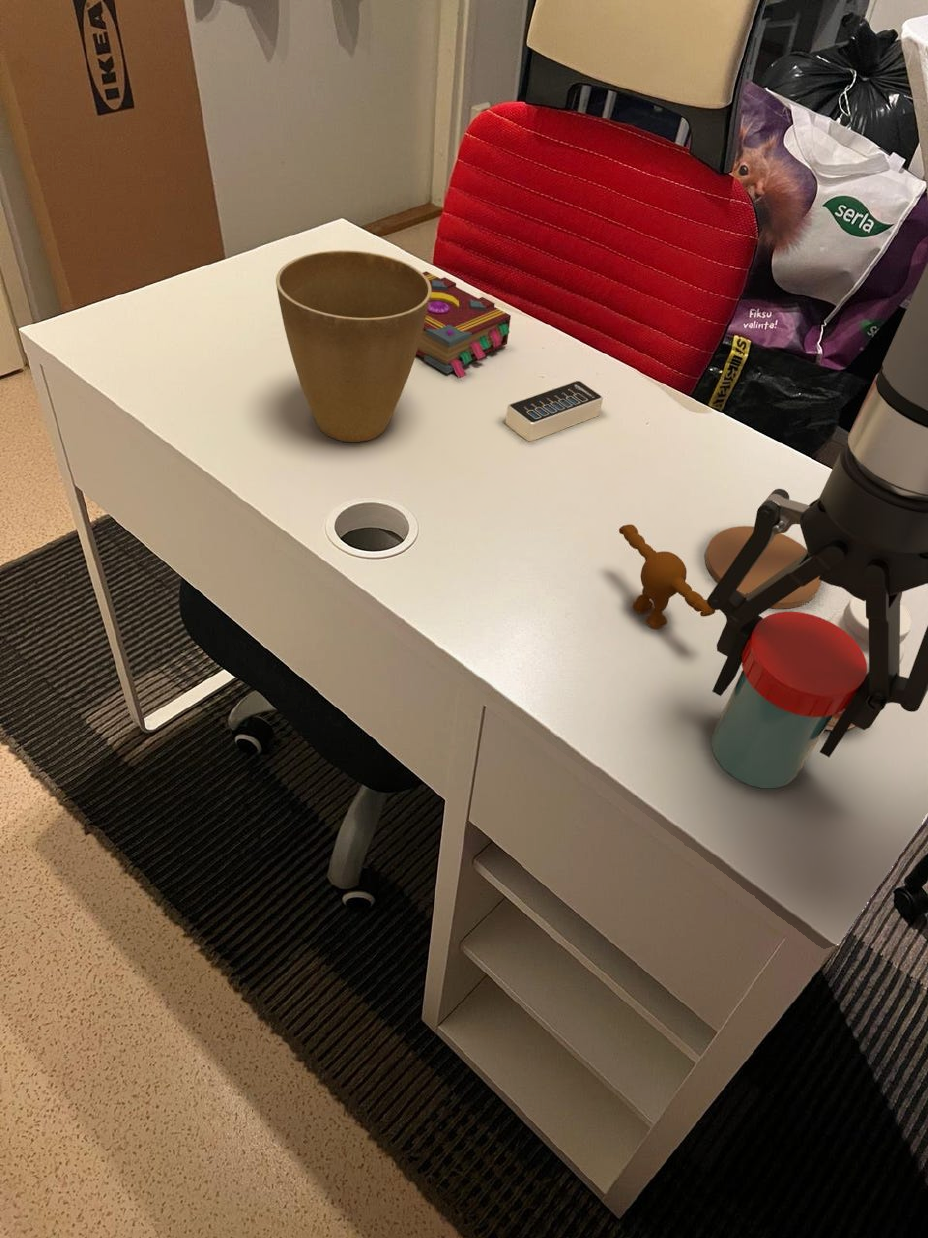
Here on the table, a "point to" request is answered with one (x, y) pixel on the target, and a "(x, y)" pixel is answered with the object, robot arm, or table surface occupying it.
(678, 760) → the table surface
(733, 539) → the coaster
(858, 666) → the cap
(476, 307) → the decorative book
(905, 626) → the pill bottle
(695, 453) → the table surface
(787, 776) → the jar
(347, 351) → the plant pot
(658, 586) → the toy figurine
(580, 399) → the multiport hub
